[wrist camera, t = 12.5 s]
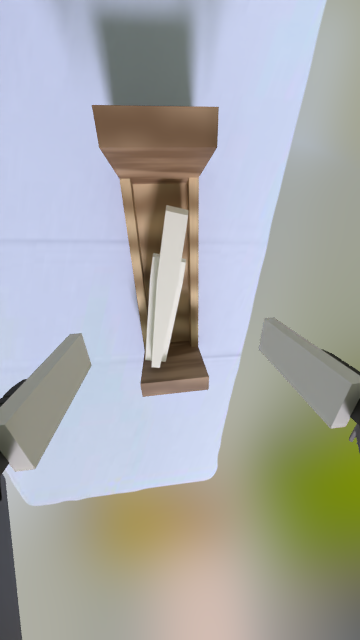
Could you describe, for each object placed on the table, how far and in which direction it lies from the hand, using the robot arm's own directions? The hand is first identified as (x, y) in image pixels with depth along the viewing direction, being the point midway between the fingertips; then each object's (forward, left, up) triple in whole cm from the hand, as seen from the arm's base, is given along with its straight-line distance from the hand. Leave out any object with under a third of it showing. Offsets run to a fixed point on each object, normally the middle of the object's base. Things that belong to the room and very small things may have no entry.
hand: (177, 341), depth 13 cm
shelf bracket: (+2, -1, -26) cm, 26 cm away
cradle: (0, 0, -27) cm, 27 cm away
